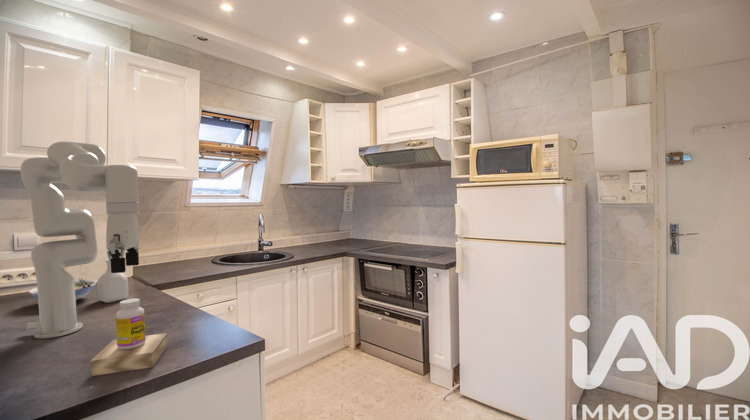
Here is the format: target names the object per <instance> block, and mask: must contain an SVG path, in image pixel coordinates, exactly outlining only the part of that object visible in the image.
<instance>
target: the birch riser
mask: <svg viewBox="0 0 750 420" xmlns="http://www.w3.org/2000/svg"><path fill="white" fill-rule="evenodd" d="M145 337H146V341H145V343H144V344H143V345H141V346H139V347H136V348H133V349H127V350H122V349H119V348H118V347H117V338H115V339H113V340H111V342H109V344H107V345H106V346H105V347H103V349H102V350H101V351H99V352H98V353H97V354H96V355H95V356H94V357H92V358H91V360H90V374H91V375H90V376H91V377H94V376H100V375H106V374H107V375H108V374H113V373H114V374H115V373H121V372H122V373H123V372H128V371H135V370H136V371H137V370H142V369H143V370H144V369H151V368H154V366H155V365H156V363H157V362H158V361H159V360H160V358H161V356H162V355H163V353H164V352H165V351H166V349H167V348H168V347H169V345H168V342H169V341H168V333H167V332H165V333H157V334H149V335H145Z"/></svg>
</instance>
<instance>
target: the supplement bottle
mask: <svg viewBox="0 0 750 420" xmlns="http://www.w3.org/2000/svg"><path fill="white" fill-rule="evenodd" d="M140 304H141V299H140V298H138V297H137V298H135V297H134V298H126V299H123V300H120V302H119V308H120V310H118V311H117V312H116V313H115V324H116V326H115V327H116V339H117V347H118V348H119V349H122V350H127V349H133V348H136V347H139V346H141V345H143V344H144V343H145V341H146V337H145V336H146V319H145V316H146V315H145V309H144V308H143V307H141V306H140Z"/></svg>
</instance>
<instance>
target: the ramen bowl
mask: <svg viewBox="0 0 750 420" xmlns="http://www.w3.org/2000/svg"><path fill="white" fill-rule="evenodd" d="M74 282H75V297H76V301H78V300H79V299H81V298H84V297H86V296H87V295H88V294H89V293H91V291H92V290H93V289H94V287H95V286H96V285H97V282H98V280H93V279H83V278H80V277H79V278H78V280H74ZM28 293H29V294H30V295H31V296H32V297H33V298H34V299H35V300H37V301H38V290H37V287H34V288H31V289H30V290H29V291H28Z"/></svg>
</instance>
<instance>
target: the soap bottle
mask: <svg viewBox="0 0 750 420" xmlns="http://www.w3.org/2000/svg"><path fill="white" fill-rule="evenodd" d="M106 253H107V257H108V259H105V260H104V262H105V263H106V267H107V268H106V271H105V272H104V273H102V274H101V275H100V276H99V277H98V280H97V282H96V285H97V286H96V287H97V288H96V289H97V298H98V300H99V301H100V302H104V303H106V304H107V303H114V302H117V301H123V300H127V299H128V297H129V283H128V281H129V280H128V277H127V276H126V274H125V273H124V272H123V273H111V259H110V253H109V250H106Z"/></svg>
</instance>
